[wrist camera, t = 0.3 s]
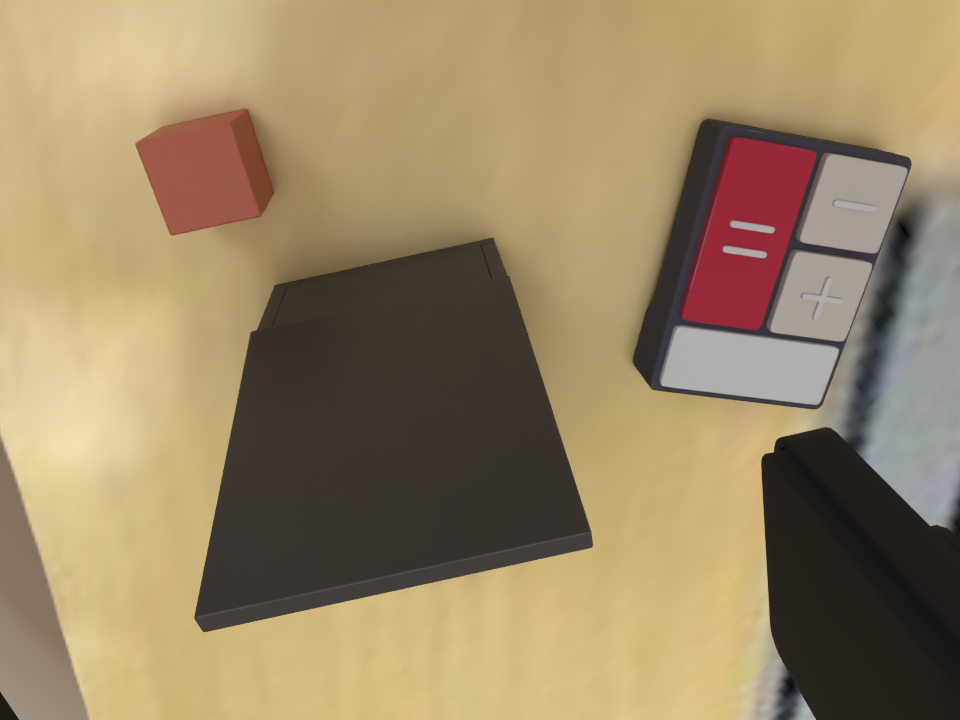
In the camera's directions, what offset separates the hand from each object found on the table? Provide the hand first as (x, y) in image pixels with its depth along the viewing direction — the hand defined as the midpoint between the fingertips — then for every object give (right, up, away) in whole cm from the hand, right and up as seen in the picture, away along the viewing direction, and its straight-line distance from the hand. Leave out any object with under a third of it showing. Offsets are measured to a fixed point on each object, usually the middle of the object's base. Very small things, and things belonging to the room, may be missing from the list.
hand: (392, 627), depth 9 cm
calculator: (+17, +9, +37) cm, 42 cm away
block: (-13, +13, +32) cm, 37 cm away
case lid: (-3, +1, +22) cm, 22 cm away
